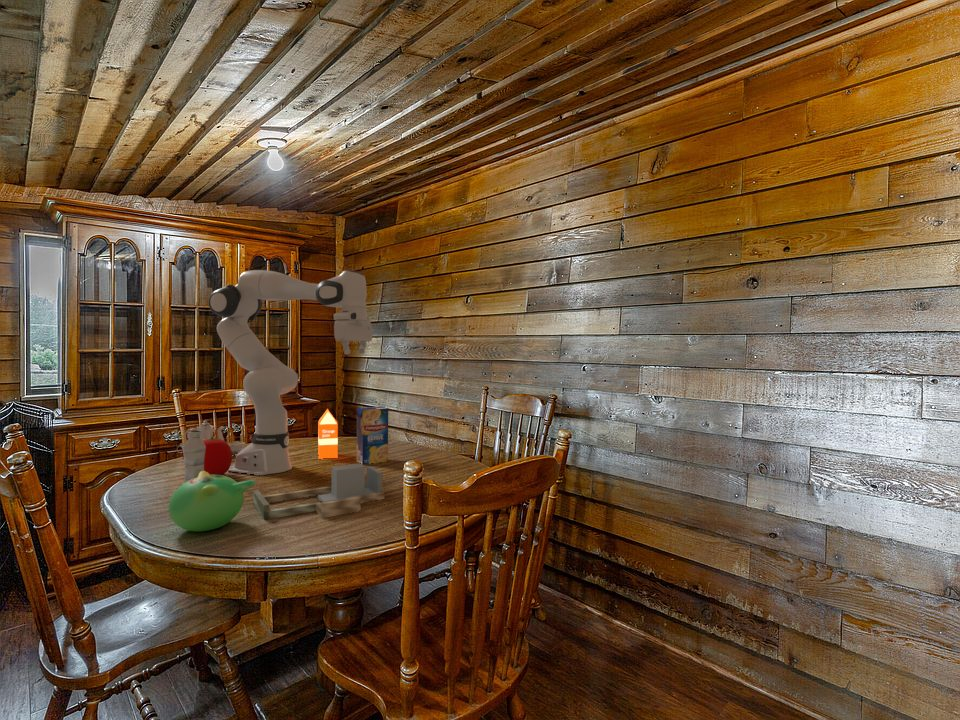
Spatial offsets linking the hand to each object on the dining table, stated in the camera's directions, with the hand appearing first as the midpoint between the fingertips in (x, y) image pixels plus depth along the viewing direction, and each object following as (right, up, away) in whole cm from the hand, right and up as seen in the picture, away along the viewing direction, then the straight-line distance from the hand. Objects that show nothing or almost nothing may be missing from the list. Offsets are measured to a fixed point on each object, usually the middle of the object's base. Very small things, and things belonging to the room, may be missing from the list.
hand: (354, 353), depth 189 cm
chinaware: (-67, -43, +27) cm, 84 cm away
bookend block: (+4, -46, -23) cm, 52 cm away
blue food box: (+1, -44, +24) cm, 50 cm away
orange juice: (-19, -43, +32) cm, 57 cm away
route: (-2, -46, -31) cm, 55 cm away
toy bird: (-26, -47, -52) cm, 74 cm away
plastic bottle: (-46, -45, -22) cm, 68 cm away
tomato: (-51, -44, -1) cm, 67 cm away
